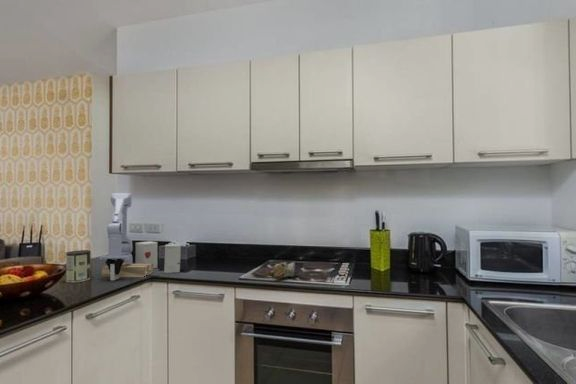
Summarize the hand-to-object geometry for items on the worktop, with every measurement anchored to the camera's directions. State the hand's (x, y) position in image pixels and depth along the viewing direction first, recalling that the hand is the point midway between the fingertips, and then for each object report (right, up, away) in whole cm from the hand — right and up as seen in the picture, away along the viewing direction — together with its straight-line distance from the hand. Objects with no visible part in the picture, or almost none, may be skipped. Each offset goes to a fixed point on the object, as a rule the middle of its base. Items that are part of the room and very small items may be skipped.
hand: (114, 274), depth 163 cm
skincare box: (+23, -3, +17) cm, 29 cm away
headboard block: (+1, -3, +10) cm, 11 cm away
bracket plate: (0, -3, 0) cm, 2 cm away
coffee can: (-18, -3, 0) cm, 18 cm away
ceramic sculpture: (+83, -3, +2) cm, 83 cm away
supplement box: (+4, -3, +27) cm, 27 cm away
